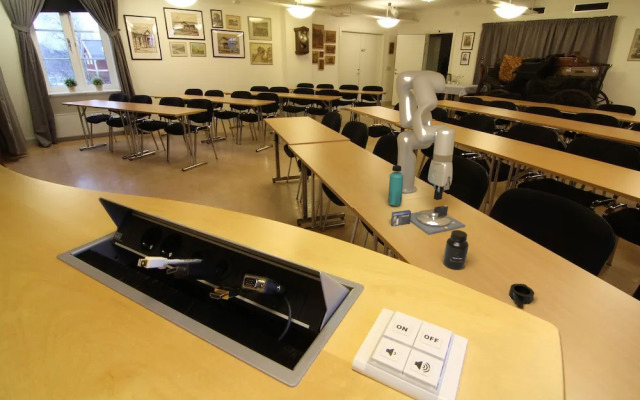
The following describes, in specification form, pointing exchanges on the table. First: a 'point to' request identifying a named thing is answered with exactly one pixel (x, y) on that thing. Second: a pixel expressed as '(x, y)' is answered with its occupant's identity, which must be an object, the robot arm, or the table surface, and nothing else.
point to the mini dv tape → (400, 218)
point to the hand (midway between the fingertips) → (437, 199)
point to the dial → (434, 217)
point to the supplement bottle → (456, 250)
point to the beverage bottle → (395, 186)
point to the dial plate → (432, 230)
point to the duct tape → (521, 294)
